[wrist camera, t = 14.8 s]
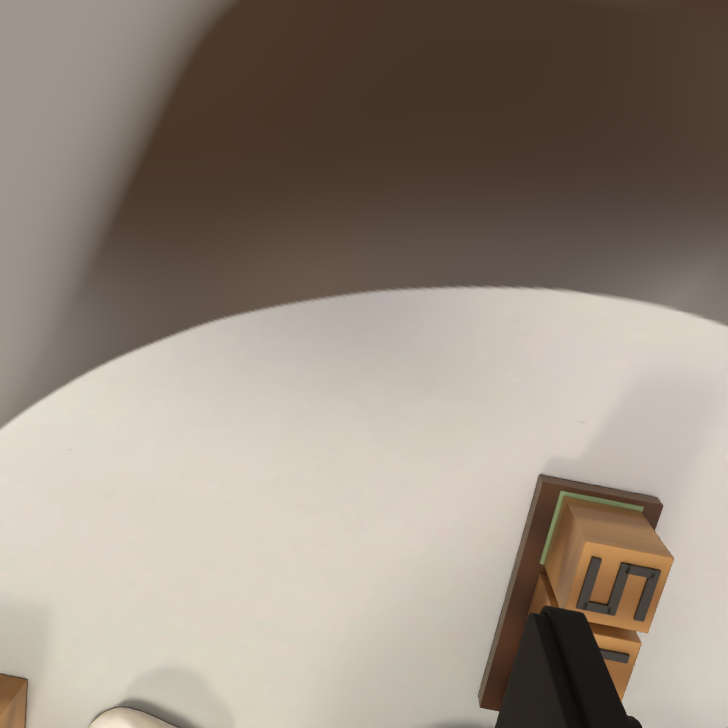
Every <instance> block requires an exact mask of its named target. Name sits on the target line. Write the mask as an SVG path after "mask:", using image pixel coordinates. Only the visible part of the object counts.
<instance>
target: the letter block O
mask: <svg viewBox="0 0 728 728" xmlns="http://www.w3.org/2000/svg"><path fill="white" fill-rule="evenodd" d="M26 697H27V679H22V678H17V677H12V676H7V675H2V674H0V728H25V716H26Z"/></svg>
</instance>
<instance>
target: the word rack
mask: <svg viewBox="0 0 728 728" xmlns="http://www.w3.org/2000/svg"><path fill="white" fill-rule="evenodd" d="M563 496H566V497H571V498H576V499H581V500H586V501H591V502H596V503H602V504H607V505H612V506H617V507H622V508H627V509H632V510H637V511H641V512H642V514H643V515H644V517H645V518H646V519H647V521H648V522H649V524H650V525H651V527H652V528H653V529H654V531H655V529H656V526H657V523H658V520H659V517H660V514H661V511H662V508H663V504H662V503H661V502H660V501H659V499H658V498H656V497H651V496H646V495H641V494H636V493H631V492H625V491H620V490H615V489H610V488H605V487H600V486H595V485H589V484H584V483H579V482H574V481H569V480H564V479H559V478H553V477H548V476H543V475H540V476H539V479H538V483H537V486H536V490H535V493H534V497H533V501H532V504H531V508H530V511H529V515H528V519H527V522H526V526H525V529H524V533H523V537H522V540H521V544H520V547H519V551H518V555H517V558H516V562H515V565H514V569H513V573H512V576H511V580H510V584H509V587H508V591H507V594H506V598H505V602H504V605H503V609H502V612H501V616H500V620H499V623H498V627H497V630H496V634H495V638H494V641H493V645H492V648H491V652H490V656H489V659H488V663H487V666H486V670H485V674H484V677H483V681H482V684H481V688H480V692H479V695H478V698H479V705H480V708H485V709H490V710H495V711H500V709H501V705H502V702H503V698H504V695H505V691H506V688H507V685H508V681H509V678H510V674H511V671H512V667H513V664H514V661H515V657H516V654H517V650H518V647H519V643H520V640H521V637H522V633H523V630H524V626H525V623H526V620H527V617H528V615H529V614H530V613H537V614H540V611H541V610H542V608H543V607H544V606H546V605H548V606H553V607H558V608H559V605H558V602H557V599H556V597H555V594H554V591H553V588H552V585H551V583H550V580H549V577H548V574H547V571H546V569H545V566H544V561H545V558H546V554H547V551H548V547H549V544H550V540H551V537H552V534H553V530H554V527H555V523H556V520H557V516H558V513H559V510H560V506H561V503H562V499H563ZM588 623H589V625H590V627H591V630H592V632H593V635H594V637H595V639H596V642H597V644H598V647H599V649H600V652H601V654H602V656H603V659H604V661H605V664H606V666H607V668H608V671H609V673H610V676H611V678H612V681H613V683H614V685H615V688H616V690H617V693H618V695H619V697H620V700H621V701H622V698H623V696H624V693H625V690H626V687H627V684H628V681H629V678H630V676H631V673H632V670H633V667H634V664H635V661H636V658H637V656H638V653H639V650H640V647H641V641H640V639H639V637H638V635H637V633H636V631H634V630H629V629H624V628H619V627H613V626H608V625H603V624H598V623H593V622H588Z"/></svg>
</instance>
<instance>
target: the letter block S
mask: <svg viewBox="0 0 728 728" xmlns="http://www.w3.org/2000/svg"><path fill="white" fill-rule="evenodd" d="M673 560H674V558H673V556H672V555H671V553H670V552H669V551H668V549H667V548H666V546H665V545H664V543H663V542H662V541H661V539H660V538H659V536H658V535H657V534H656V532H655V531H654V529H653V528H652V527H651V525H650V524H649V522H648V521H647V519H646V518H645V517H644V515H643V514H642V512H641V511H637V510H632V509H627V508H622V507H617V506H612V505H607V504H602V503H596V502H591V501H586V500H581V499H576V498H571V497H566V496H563V499H562V503H561V506H560V510H559V513H558V516H557V520H556V523H555V527H554V530H553V534H552V537H551V540H550V544H549V547H548V551H547V554H546V558H545V561H544V566H545V569H546V571H547V574H548V577H549V580H550V583H551V585H552V588H553V591H554V594H555V597H556V599H557V602H558V605H559V608H563V609H568V610H573V611H579V612H582V613H584V614H585V616H586V618H587V620H588V622H593V623H598V624H603V625H608V626H613V627H619V628H624V629H629V630H634V631H639V632H644V633H648V631H649V628H650V625H651V622H652V620H653V617H654V614H655V611H656V608H657V605H658V602H659V600H660V597H661V594H662V591H663V588H664V585H665V583H666V580H667V577H668V574H669V571H670V568H671V566H672V563H673Z"/></svg>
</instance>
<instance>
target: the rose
mask: <svg viewBox="0 0 728 728" xmlns="http://www.w3.org/2000/svg"><path fill="white" fill-rule="evenodd" d="M88 728H177V727H175V726H173V725H171V724H168V723H166V722H164V721H162V720H160V719H158V718H155V717H153V716H151V715H149V714H146V713H144V712H141V711H137V710H134V709H130V708H123V707H118V708H114V709H111V710H109V711H106V712H104V713H102V714H101V715H100V716H99V717H98V718H97V719H95V720H94V721H93V722H92V723H91V724H90V726H89V727H88Z"/></svg>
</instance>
